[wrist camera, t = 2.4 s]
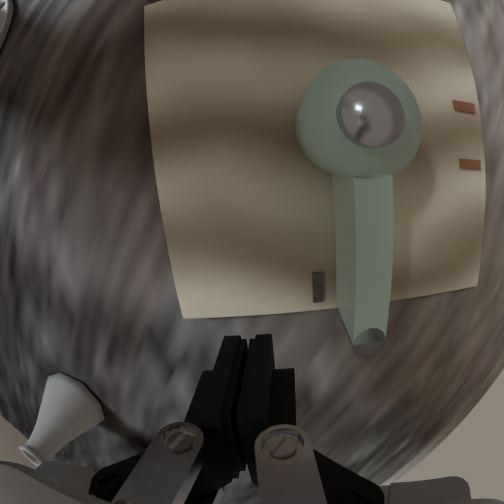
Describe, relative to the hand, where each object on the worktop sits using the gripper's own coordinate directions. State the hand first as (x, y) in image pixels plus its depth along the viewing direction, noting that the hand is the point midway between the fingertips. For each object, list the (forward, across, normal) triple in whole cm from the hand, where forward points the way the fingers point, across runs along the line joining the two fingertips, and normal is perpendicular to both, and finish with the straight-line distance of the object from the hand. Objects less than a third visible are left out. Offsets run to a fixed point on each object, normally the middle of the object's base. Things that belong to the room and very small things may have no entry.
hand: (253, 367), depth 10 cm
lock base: (+8, -5, -9) cm, 13 cm away
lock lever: (+6, -5, -5) cm, 9 cm away
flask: (+8, +21, +12) cm, 26 cm away
